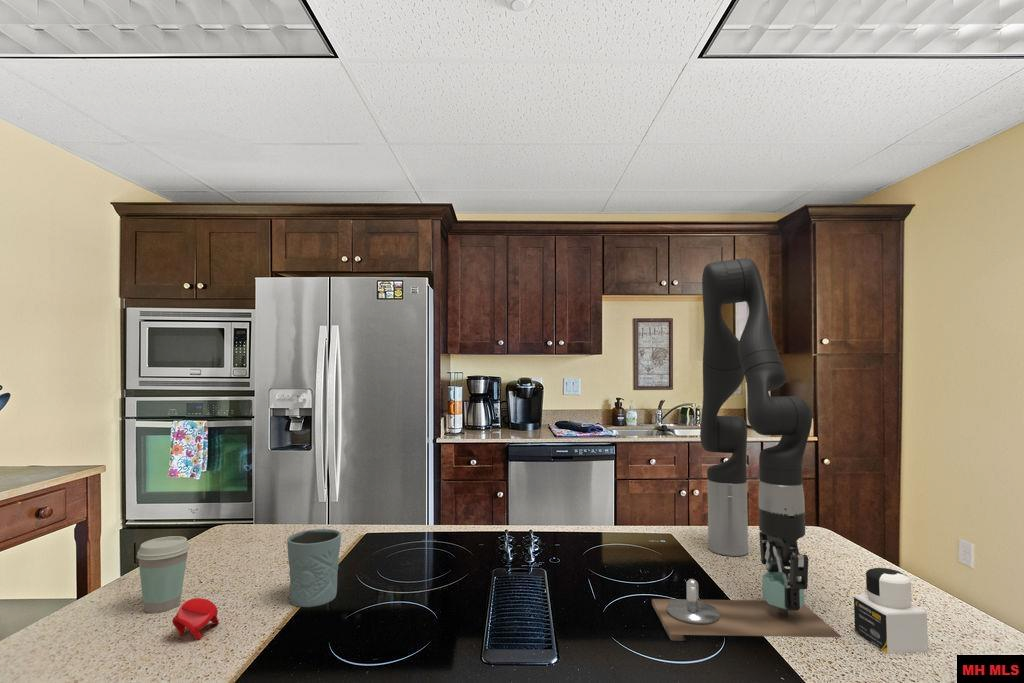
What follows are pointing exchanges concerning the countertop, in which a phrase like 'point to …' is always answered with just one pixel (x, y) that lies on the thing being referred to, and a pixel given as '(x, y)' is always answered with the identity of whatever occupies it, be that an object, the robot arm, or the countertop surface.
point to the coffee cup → (162, 572)
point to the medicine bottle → (890, 613)
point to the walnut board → (746, 621)
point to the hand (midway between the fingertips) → (783, 600)
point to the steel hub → (693, 608)
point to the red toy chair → (195, 616)
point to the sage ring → (776, 589)
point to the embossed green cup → (313, 566)
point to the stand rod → (782, 612)
